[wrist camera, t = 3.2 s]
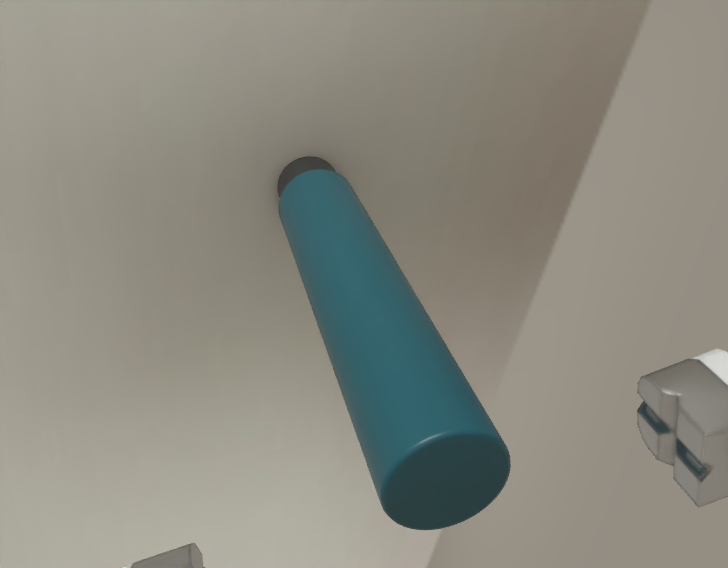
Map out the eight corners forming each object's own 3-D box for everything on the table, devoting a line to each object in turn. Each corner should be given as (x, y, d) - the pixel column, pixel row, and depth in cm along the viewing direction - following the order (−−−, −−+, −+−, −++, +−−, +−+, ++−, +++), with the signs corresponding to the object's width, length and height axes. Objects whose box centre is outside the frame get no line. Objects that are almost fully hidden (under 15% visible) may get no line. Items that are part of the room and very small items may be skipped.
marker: (334, 141, 22) (506, 413, 11) (350, 205, 23) (518, 503, 13) (262, 163, 22) (368, 462, 11) (282, 227, 23) (395, 549, 13)
